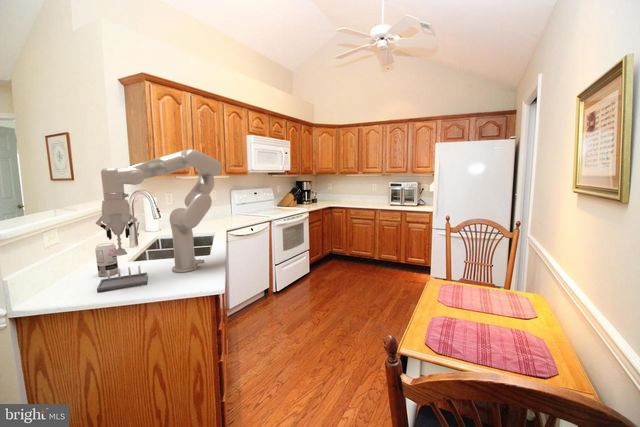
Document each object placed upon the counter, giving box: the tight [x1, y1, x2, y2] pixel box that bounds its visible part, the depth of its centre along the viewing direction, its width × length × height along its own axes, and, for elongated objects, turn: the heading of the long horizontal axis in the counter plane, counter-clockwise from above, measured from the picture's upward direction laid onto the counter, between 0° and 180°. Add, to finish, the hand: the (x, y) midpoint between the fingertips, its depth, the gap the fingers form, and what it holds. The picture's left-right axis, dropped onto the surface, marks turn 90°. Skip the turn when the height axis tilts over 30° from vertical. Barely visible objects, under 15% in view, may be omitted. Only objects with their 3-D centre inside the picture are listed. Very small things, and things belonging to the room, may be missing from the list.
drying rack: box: [96, 265, 149, 294], centre depth 133 cm, size 18×12×6 cm, turn 119°
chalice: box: [108, 214, 128, 257], centre depth 130 cm, size 7×7×18 cm
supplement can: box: [95, 242, 119, 277], centre depth 146 cm, size 8×8×15 cm
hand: (118, 237), depth 131 cm, fingers closed on chalice, 5 cm apart
